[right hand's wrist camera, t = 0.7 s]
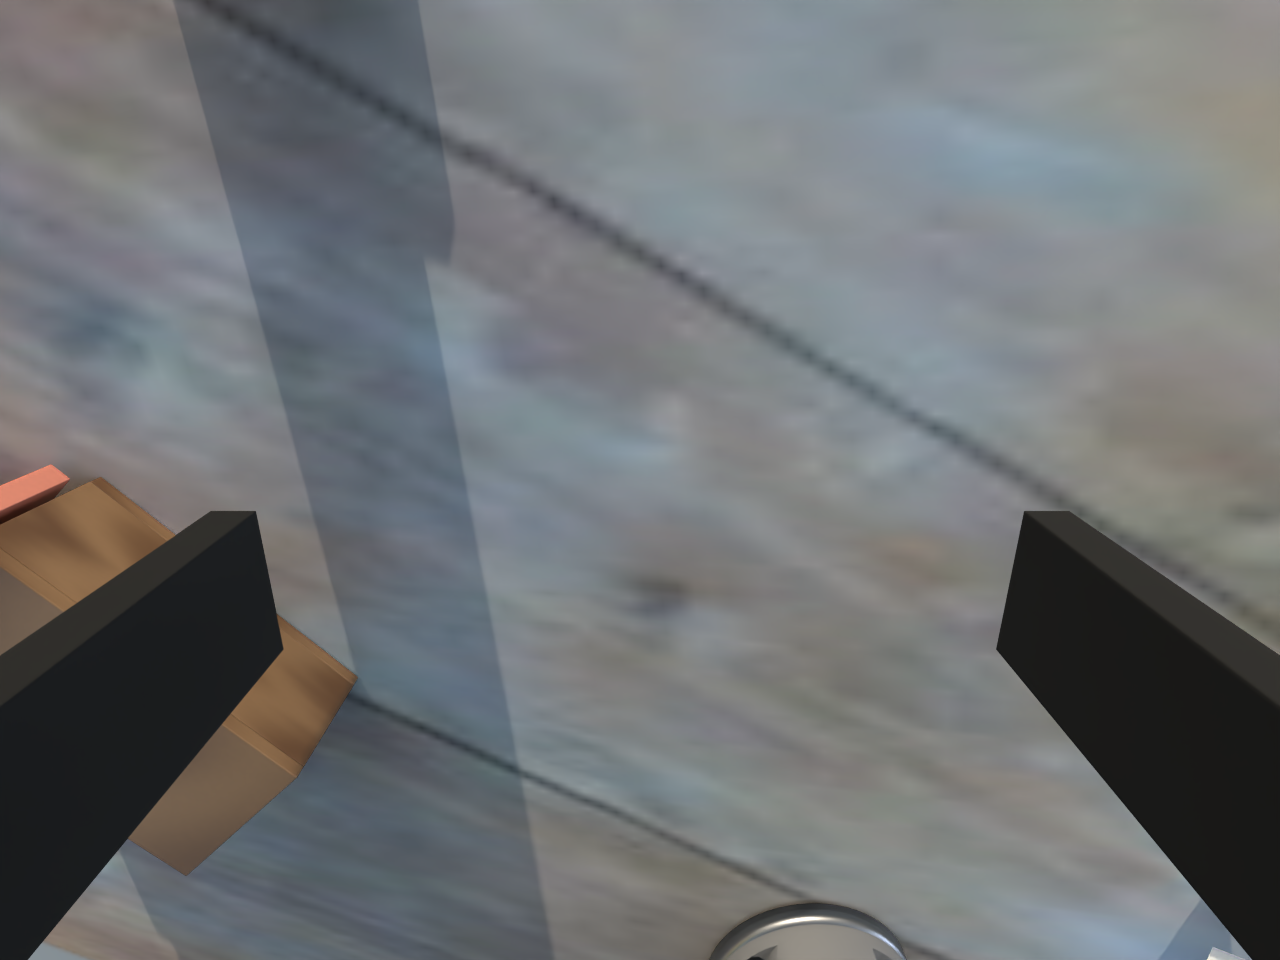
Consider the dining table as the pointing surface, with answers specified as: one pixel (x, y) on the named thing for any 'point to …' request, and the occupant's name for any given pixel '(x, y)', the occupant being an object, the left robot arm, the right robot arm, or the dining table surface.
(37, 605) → the cabinet
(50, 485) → the drawer
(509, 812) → the dining table surface
